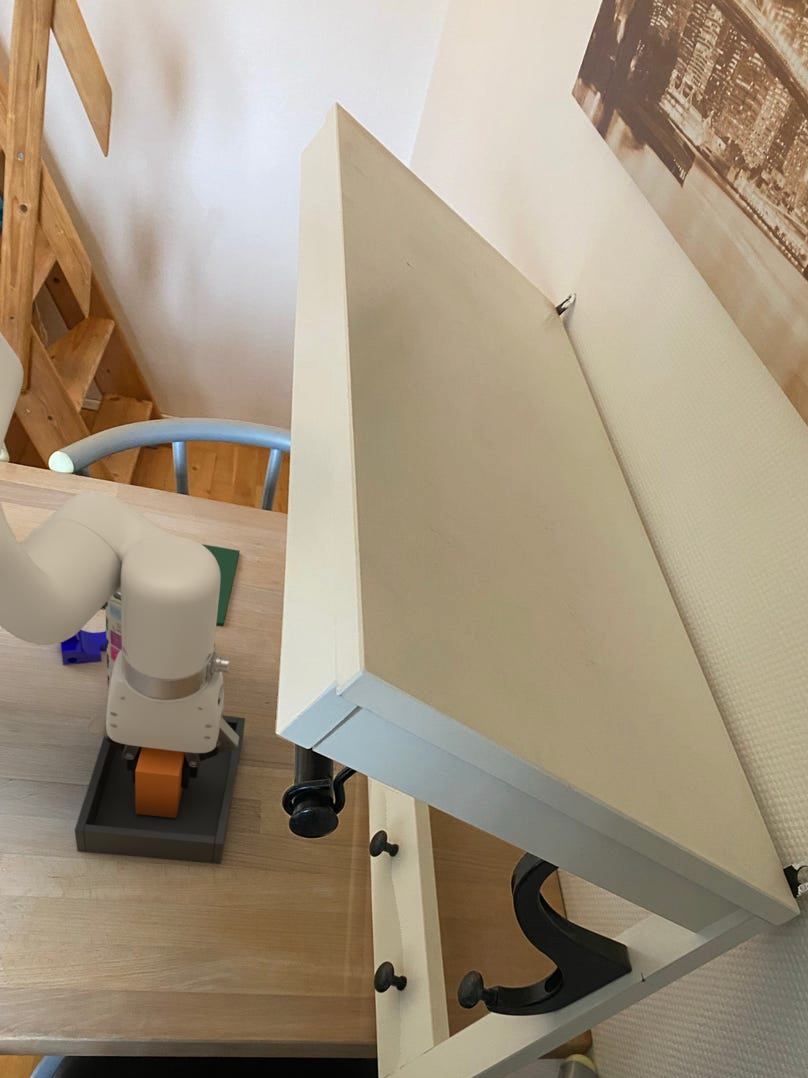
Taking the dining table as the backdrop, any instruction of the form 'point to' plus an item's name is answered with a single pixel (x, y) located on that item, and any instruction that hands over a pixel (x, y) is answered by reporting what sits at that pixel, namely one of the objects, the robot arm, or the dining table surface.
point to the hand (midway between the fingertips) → (163, 773)
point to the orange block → (158, 782)
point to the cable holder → (84, 647)
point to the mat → (223, 577)
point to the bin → (184, 838)
